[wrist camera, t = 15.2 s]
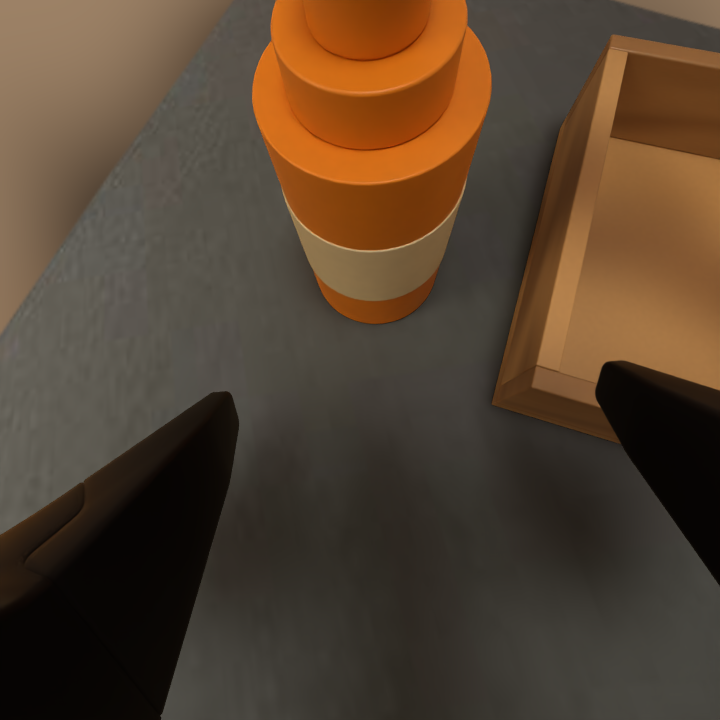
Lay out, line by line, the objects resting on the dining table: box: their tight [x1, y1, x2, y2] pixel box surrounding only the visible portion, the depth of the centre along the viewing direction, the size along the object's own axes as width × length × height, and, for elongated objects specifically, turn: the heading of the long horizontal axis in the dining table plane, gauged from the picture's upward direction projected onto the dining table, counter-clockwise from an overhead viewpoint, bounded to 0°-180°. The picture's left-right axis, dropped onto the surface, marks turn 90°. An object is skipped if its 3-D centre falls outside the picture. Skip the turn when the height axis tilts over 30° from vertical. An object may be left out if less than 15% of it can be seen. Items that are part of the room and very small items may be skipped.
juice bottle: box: [252, 0, 492, 324], centre depth 13 cm, size 6×6×14 cm
